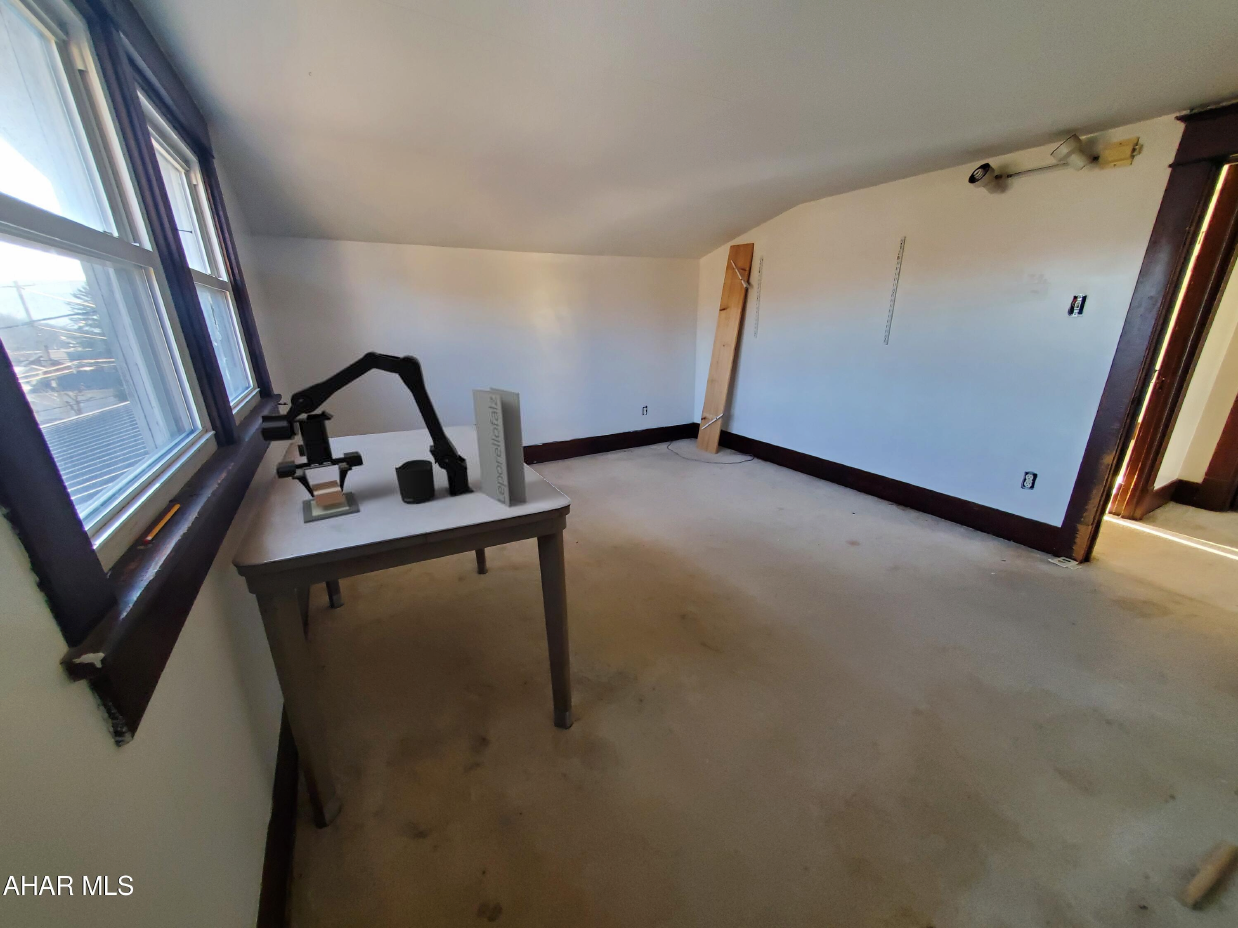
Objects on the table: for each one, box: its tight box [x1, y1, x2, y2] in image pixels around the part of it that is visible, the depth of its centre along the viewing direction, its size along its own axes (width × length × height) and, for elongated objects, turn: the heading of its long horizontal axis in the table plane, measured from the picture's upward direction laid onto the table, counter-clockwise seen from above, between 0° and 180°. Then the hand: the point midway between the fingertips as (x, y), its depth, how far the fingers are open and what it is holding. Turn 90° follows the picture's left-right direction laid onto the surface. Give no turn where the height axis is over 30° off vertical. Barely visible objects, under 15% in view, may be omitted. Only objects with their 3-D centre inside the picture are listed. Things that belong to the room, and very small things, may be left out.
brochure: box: [472, 386, 527, 508], centre depth 125 cm, size 14×6×30 cm, turn 45°
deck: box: [310, 479, 344, 507], centre depth 122 cm, size 10×6×3 cm, turn 37°
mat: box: [301, 491, 360, 524], centre depth 123 cm, size 16×12×1 cm
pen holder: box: [394, 459, 436, 505], centre depth 127 cm, size 9×9×10 cm
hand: (327, 494), depth 122 cm, fingers closed on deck, 6 cm apart
